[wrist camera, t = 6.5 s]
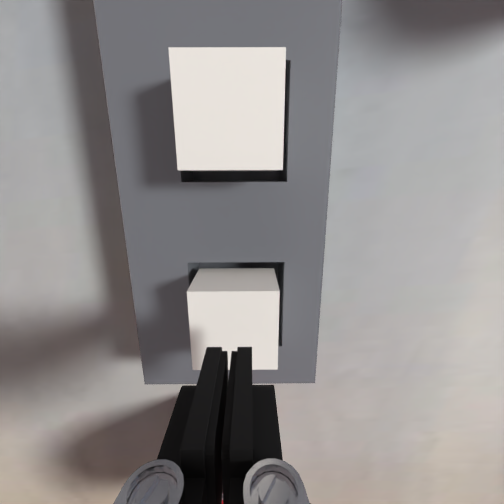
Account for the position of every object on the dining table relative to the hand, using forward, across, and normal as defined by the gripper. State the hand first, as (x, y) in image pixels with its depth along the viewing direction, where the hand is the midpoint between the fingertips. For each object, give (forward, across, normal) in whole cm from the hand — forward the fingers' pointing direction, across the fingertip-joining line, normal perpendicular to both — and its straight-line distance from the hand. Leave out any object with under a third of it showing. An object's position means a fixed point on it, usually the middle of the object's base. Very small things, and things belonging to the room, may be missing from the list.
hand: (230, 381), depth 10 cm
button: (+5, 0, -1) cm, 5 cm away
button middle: (+5, 0, -10) cm, 11 cm away
